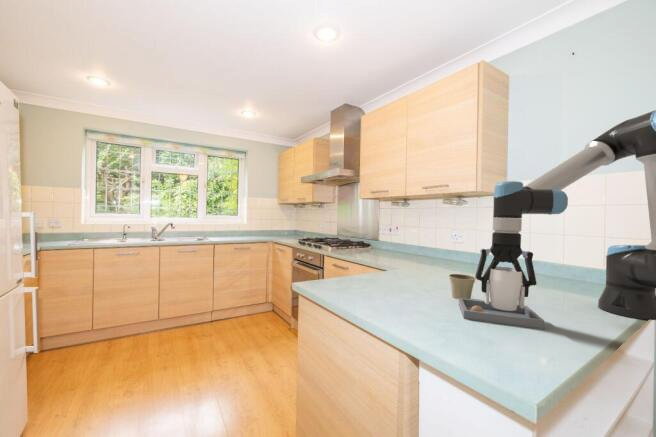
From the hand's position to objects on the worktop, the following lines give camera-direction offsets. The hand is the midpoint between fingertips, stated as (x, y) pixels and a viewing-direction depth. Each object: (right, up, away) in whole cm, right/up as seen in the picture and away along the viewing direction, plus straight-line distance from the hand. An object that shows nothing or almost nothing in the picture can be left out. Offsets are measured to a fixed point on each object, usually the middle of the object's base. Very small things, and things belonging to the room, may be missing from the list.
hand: (503, 304), depth 87 cm
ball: (-9, -3, -2) cm, 10 cm away
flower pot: (-4, -4, +19) cm, 20 cm away
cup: (0, -1, 0) cm, 1 cm away
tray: (-2, -4, 0) cm, 5 cm away
